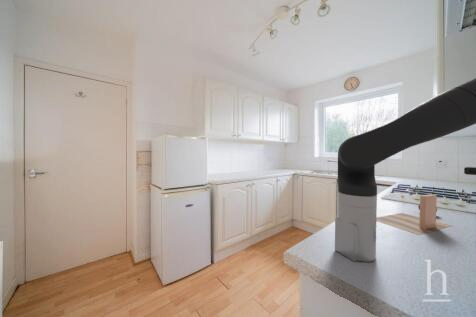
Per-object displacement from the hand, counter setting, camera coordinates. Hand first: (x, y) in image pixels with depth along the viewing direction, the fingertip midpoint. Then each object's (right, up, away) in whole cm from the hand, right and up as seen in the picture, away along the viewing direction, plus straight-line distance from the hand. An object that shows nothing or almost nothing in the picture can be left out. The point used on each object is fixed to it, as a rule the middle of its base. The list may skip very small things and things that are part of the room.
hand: (465, 170), depth 56 cm
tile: (-1, -22, +10) cm, 24 cm away
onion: (+15, -23, +25) cm, 37 cm away
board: (-3, -23, +16) cm, 28 cm away
